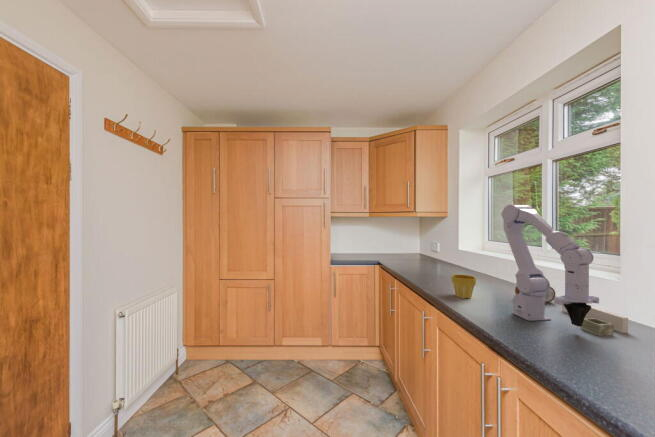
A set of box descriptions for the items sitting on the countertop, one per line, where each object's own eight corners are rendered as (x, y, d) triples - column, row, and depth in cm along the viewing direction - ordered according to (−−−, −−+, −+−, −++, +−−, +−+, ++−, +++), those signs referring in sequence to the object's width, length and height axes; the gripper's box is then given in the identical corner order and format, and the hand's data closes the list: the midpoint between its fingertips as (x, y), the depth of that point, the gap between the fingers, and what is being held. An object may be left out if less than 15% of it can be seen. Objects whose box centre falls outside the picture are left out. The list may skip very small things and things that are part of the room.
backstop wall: (622, 333, 86) (622, 318, 86) (562, 311, 106) (562, 298, 106) (627, 332, 86) (628, 317, 86) (566, 310, 106) (566, 298, 106)
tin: (552, 301, 118) (552, 283, 117) (556, 304, 114) (556, 285, 114) (514, 299, 121) (514, 281, 121) (517, 301, 118) (518, 283, 118)
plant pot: (474, 295, 127) (474, 275, 127) (477, 301, 118) (477, 279, 118) (451, 292, 132) (451, 273, 131) (452, 298, 122) (452, 277, 122)
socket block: (598, 336, 84) (598, 325, 84) (580, 328, 90) (580, 318, 89) (613, 335, 85) (613, 324, 85) (594, 328, 90) (594, 317, 90)
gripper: (569, 288, 81) (569, 331, 81) (610, 286, 83) (610, 329, 83) (548, 282, 88) (548, 322, 88) (585, 281, 90) (585, 320, 90)
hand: (576, 325), depth 86 cm, fingers closed
